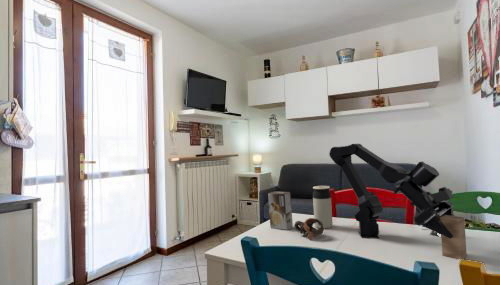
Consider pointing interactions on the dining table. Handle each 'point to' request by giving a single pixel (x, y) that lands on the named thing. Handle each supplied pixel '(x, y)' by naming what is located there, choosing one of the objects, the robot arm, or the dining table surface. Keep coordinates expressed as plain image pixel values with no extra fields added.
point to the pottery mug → (309, 227)
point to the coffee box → (280, 210)
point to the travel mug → (322, 206)
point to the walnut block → (454, 237)
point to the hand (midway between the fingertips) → (457, 234)
